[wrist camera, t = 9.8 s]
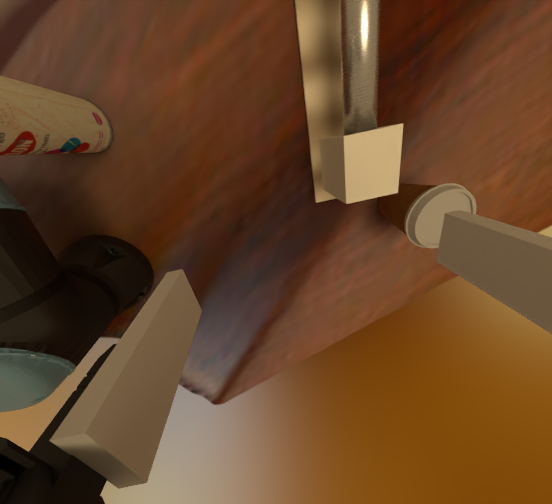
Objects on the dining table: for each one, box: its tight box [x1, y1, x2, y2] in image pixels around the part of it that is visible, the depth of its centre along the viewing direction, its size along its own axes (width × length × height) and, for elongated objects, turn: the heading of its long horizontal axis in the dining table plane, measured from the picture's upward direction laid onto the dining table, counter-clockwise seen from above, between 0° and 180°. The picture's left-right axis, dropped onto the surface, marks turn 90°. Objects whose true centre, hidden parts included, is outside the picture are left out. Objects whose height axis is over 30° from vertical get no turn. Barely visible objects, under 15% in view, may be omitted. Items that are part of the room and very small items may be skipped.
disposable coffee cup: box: [378, 183, 476, 248], centre depth 35 cm, size 10×10×12 cm
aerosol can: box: [0, 76, 113, 156], centre depth 22 cm, size 7×7×20 cm
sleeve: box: [319, 124, 403, 204], centre depth 31 cm, size 8×7×11 cm
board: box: [294, 0, 344, 203], centre depth 30 cm, size 37×10×1 cm, turn 11°
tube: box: [339, 0, 380, 136], centre depth 22 cm, size 24×4×4 cm, turn 11°
